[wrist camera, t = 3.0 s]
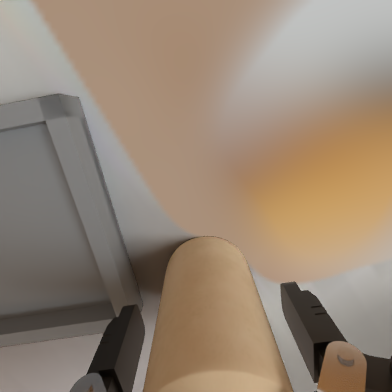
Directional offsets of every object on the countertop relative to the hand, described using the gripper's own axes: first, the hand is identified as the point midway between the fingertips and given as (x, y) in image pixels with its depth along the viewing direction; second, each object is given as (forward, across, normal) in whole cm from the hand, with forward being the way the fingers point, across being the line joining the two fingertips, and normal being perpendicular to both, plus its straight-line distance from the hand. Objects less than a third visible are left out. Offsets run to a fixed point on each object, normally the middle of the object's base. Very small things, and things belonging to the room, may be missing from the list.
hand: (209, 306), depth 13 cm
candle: (+3, 0, 0) cm, 3 cm away
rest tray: (+3, +12, -5) cm, 13 cm away
